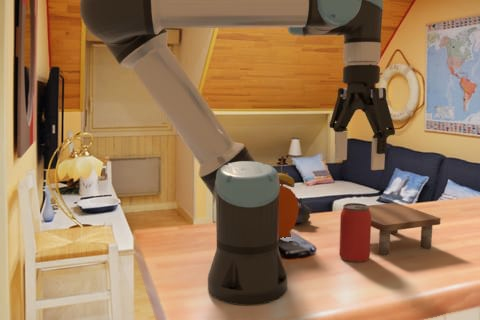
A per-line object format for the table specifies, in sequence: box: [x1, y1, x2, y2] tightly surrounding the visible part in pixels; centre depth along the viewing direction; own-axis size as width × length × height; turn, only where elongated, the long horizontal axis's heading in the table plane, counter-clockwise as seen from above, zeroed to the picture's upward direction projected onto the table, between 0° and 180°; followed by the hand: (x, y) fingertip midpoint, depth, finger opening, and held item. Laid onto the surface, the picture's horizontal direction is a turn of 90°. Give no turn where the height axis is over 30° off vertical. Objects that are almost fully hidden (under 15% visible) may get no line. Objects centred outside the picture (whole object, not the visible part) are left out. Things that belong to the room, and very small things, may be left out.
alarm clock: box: [268, 160, 299, 240], centre depth 113 cm, size 13×6×20 cm, turn 123°
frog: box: [295, 196, 313, 224], centre depth 131 cm, size 10×12×8 cm
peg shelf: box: [368, 202, 442, 256], centre depth 113 cm, size 16×16×8 cm
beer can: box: [338, 202, 372, 263], centre depth 102 cm, size 7×7×12 cm
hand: (357, 164), depth 100 cm, fingers open, 13 cm apart
